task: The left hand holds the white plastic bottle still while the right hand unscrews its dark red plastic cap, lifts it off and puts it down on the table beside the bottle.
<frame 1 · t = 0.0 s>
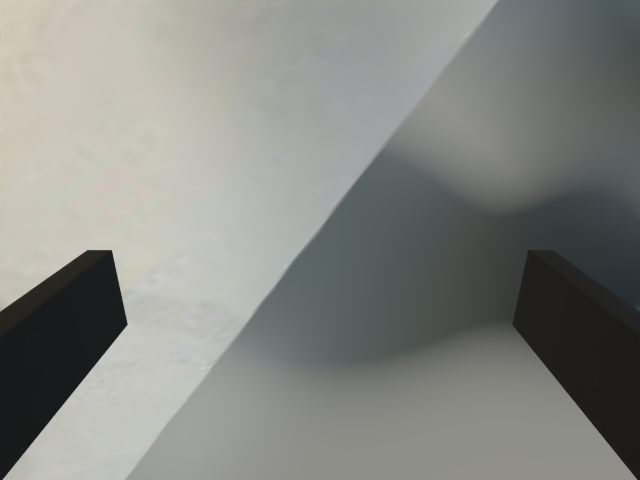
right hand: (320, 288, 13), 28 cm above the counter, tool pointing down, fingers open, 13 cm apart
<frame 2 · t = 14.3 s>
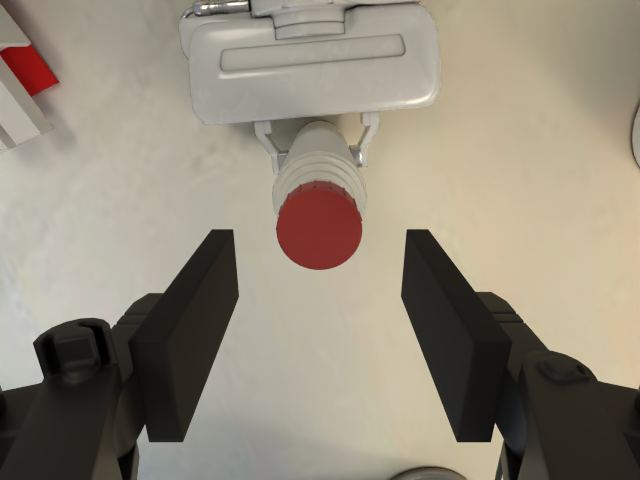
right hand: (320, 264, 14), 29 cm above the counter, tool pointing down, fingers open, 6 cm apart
left hand: (321, 169, 35), fingers closed on bottle, 5 cm apart
bottle: (319, 148, 41), on the counter, touching left hand
cap: (319, 229, 18), point 25 cm above the counter, screwed on, not yet turned
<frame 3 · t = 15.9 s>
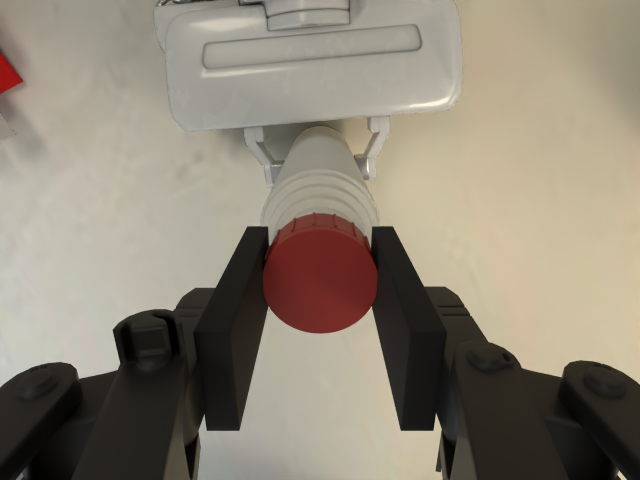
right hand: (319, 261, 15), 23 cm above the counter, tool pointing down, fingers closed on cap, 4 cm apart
left hand: (321, 182, 30), fingers closed on bottle, 5 cm apart
bottle: (320, 156, 36), on the counter, touching left hand
cap: (320, 280, 13), point 25 cm above the counter, screwed on, not yet turned, touching right hand
when the right hand's fingers open (1 cm above the counter, at t = 34.8 s): cap stays where it is, point 1 cm above the counter.
when the left hand's fingers open (7 cm above the counter, at t = 36.2 s): bottle stays where it is, on the counter.
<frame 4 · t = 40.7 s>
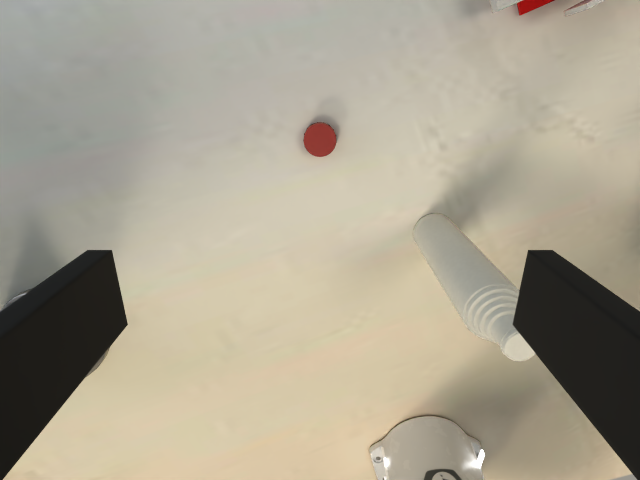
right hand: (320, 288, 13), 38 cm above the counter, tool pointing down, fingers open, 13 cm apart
bottle: (433, 232, 53), on the counter
cap: (320, 140, 47), point 1 cm above the counter, off its thread
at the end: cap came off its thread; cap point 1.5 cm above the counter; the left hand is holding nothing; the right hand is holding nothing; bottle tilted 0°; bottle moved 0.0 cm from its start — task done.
